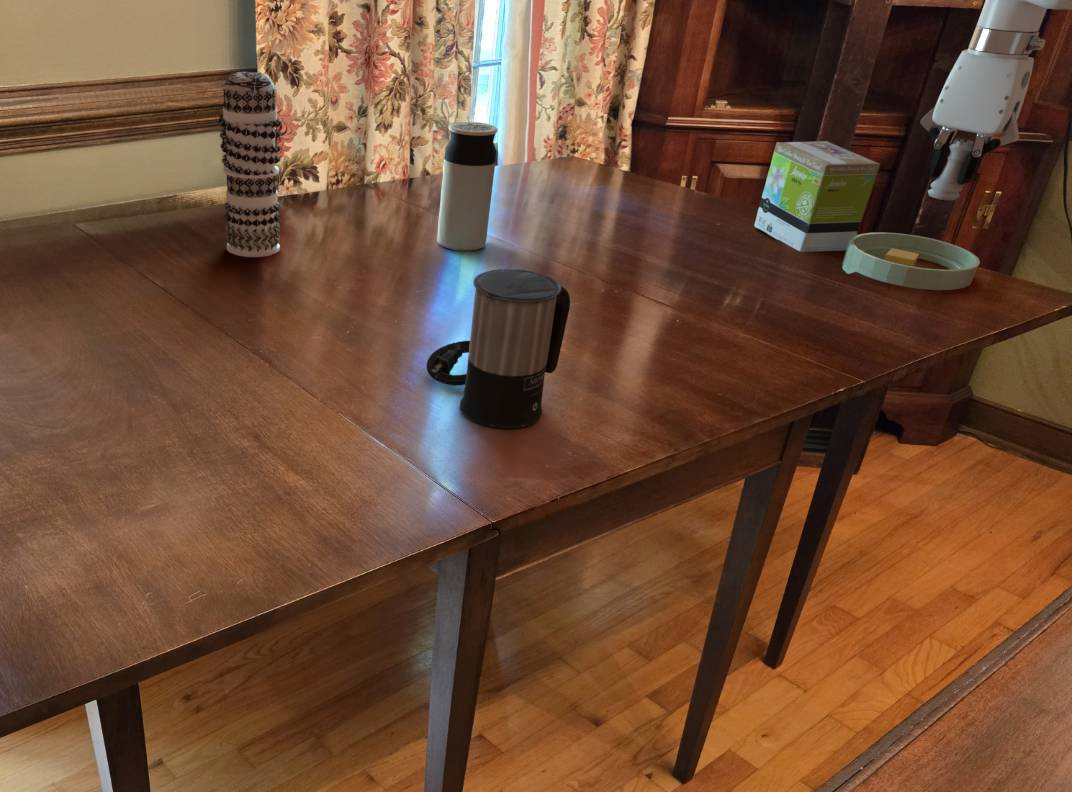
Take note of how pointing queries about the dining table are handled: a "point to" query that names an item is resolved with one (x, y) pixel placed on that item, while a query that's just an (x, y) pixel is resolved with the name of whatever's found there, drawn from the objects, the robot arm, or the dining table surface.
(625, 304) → the dining table surface
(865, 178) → the tea box
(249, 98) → the decorative candle
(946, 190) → the rook chess piece
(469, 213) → the travel mug
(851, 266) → the pale green round tray
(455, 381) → the milk frother
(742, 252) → the dining table surface
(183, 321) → the dining table surface
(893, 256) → the decorative block
